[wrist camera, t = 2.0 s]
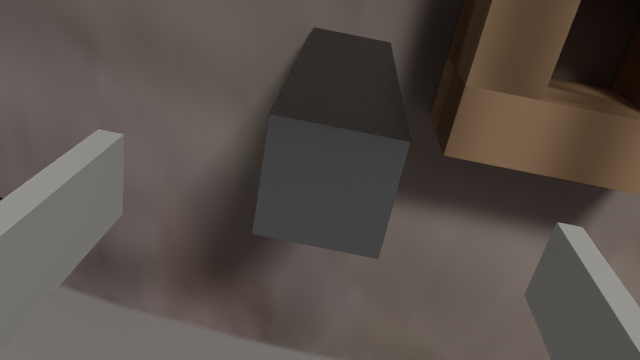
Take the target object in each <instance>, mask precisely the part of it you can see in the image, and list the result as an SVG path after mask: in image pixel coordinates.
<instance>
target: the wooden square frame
mask: <svg viewBox="0 0 640 360" xmlns="http://www.w3.org/2000/svg"><path fill="white" fill-rule="evenodd" d="M580 2H581V0H464V1H463V5H462V8H461V12H460V15H459V19H458V22H457V25H456V29H455V32H454V36H453V39H452V43H451V46H450V49H449V53H448V56H447V60H446V63H445V67H444V70H443V74H442V77H441V80H440V84H439V87H438V91H437V94H436V98H435V101H434V104H433V108H432V111H431V115H430V116H431V119H432V122H433V125H434V128H435V131H436V134H437V137H438V140H439V143H440V146H441V149H442V152H443V155H444V156H448V157H453V158H458V159H463V160H468V161H473V162H478V163H483V164H488V165H493V166H499V167H504V168H509V169H514V170H519V171H524V172H529V173H534V174H539V175H544V176H549V177H554V178H559V179H564V180H569V181H574V182H579V183H584V184H589V185H594V186H599V187H604V188H609V189H614V190H619V191H624V192H629V193H634V194H639V195H640V23H639V25H638V28H637V30H636V32H635V34H634V37H633V39H632V41H631V43H630V46H629V48H628V50H627V52H626V55H625V57H624V59H623V61H622V64H621V66H620V68H619V70H618V73H617V75H616V77H615V79H614V82H613V84H612V86H611V88H605V87H600V86H595V85H590V84H585V83H580V82H575V81H570V80H565V79H560V78H555V77H551V76H552V74H553V71H554V69H555V66H556V63H557V61H558V58H559V56H560V53H561V50H562V48H563V45H564V43H565V40H566V38H567V35H568V32H569V30H570V27H571V25H572V22H573V20H574V17H575V14H576V12H577V9H578V7H579V4H580Z"/></svg>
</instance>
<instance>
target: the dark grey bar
mask: <svg viewBox="0 0 640 360" xmlns="http://www.w3.org/2000/svg"><path fill="white" fill-rule="evenodd" d="M410 143H411V141H410V136H409V131H408V126H407V121H406V116H405V111H404V106H403V101H402V96H401V91H400V86H399V82H398V77H397V72H396V67H395V62H394V57H393V52H392V47H391V43H389V42H384V41H379V40H374V39H369V38H364V37H359V36H354V35H349V34H344V33H339V32H334V31H329V30H324V29H320V28H315V27H314V28H313V30H312V32H311V34H310V36H309V38H308V40H307V42H306V44H305V46H304V48H303V50H302V52H301V54H300V55H299V57H298V59H297V61H296V63H295V65H294V67H293V69H292V71H291V73H290V75H289V77H288V79H287V81H286V83H285V85H284V87H283V88H282V90H281V92H280V94H279V96H278V98H277V100H276V102H275V104H274V106H273V108H272V110H271V112H270V114H269V120H268V127H267V134H266V141H265V148H264V155H263V162H262V169H261V176H260V183H259V190H258V197H257V204H256V211H255V218H254V225H253V232H252V234H255V235H260V236H265V237H270V238H275V239H280V240H285V241H290V242H295V243H300V244H305V245H310V246H315V247H321V248H326V249H331V250H336V251H341V252H346V253H351V254H356V255H361V256H366V257H371V258H376V259H378V257H379V254H380V250H381V247H382V243H383V240H384V236H385V232H386V229H387V225H388V222H389V218H390V215H391V211H392V207H393V204H394V200H395V197H396V193H397V190H398V186H399V182H400V179H401V175H402V172H403V168H404V164H405V161H406V157H407V154H408V150H409V147H410Z"/></svg>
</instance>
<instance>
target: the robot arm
mask: <svg viewBox="0 0 640 360" xmlns="http://www.w3.org/2000/svg"><path fill="white" fill-rule="evenodd" d="M123 152H124V134H119V133H114V132H109V131H104V130H100V129H98V130H97V131H95V132H94V133H93V134H91V135H90V136H89V137H87V138H86V139H85V140H83V141H82V142H80V143H79V144H78V145H76V146H75V147H74V148H72V149H71V150H69V151H68V152H67V153H65V154H64V155H63V156H61V157H60V158H58V159H57V160H56V161H54V162H53V163H52V164H50V165H49V166H48V167H46V168H45V169H43V170H42V171H41V172H39V173H38V174H37V175H35V176H34V177H32V178H31V179H30V180H28V181H27V182H26V183H24V184H23V185H22V186H20V187H19V188H17V189H16V190H15V191H13V192H12V193H11V194H9V195H8V196H6V197H5V198H1V197H0V353H1V352H2V350H3V349H4V348H5V347H6V346H7V345H8V343H10V341H11V340H12V339H13V338H14V337H15V336H16V334H17V333H18V332H19V331H20V330H21V329H22V328H23V327H24V325H25V324H26V323H27V322H28V321H29V320H30V318H31V317H32V316H33V315H34V314H35V313H36V312H37V311H38V309H39V308H40V307H41V306H42V305H43V304H44V303H45V301H46V300H47V299H48V298H49V297H50V296H51V295H52V293H53V292H54V291H55V290H56V289H57V288H58V287H59V286H60V284H61V283H62V282H63V281H64V280H65V279H66V278H67V276H68V275H69V274H70V273H71V272H72V271H73V270H74V268H75V267H76V266H77V265H78V264H79V263H80V262H81V260H82V259H83V258H84V257H85V256H86V255H87V254H88V252H89V251H90V250H91V249H92V248H93V247H94V246H95V244H96V243H97V242H98V241H99V240H100V239H101V238H102V236H103V235H104V234H105V233H106V232H107V231H108V230H109V229H110V227H111V226H112V225H113V224H114V223H115V222H116V221H117V219H118V218H119V217H120V216H121V215H122V214H123ZM525 297H526V300H527V302H528V305H529V307H530V309H531V312H532V314H533V317H534V319H535V321H536V324H537V326H538V328H539V331H540V333H541V336H542V338H543V340H544V343H545V345H546V348H547V350H548V352H549V355H550V357H551V360H640V308H639V307H638V305H637V304H636V302H635V301H634V300H633V298H632V297H631V295H630V294H629V292H628V291H627V290H626V288H625V287H624V285H623V284H622V283H621V281H620V280H619V278H618V277H617V276H616V274H615V273H614V271H613V270H612V268H611V267H610V266H609V264H608V263H607V261H606V260H605V259H604V257H603V256H602V254H601V253H600V252H599V250H598V249H597V247H596V246H595V244H594V243H593V242H592V240H591V239H590V237H589V236H588V235H587V233H586V232H585V230H584V229H583V228H582V227H579V226H574V225H569V224H564V223H559V222H557V223H556V225H555V228H554V230H553V232H552V234H551V237H550V239H549V241H548V243H547V246H546V248H545V250H544V252H543V254H542V257H541V259H540V261H539V263H538V266H537V268H536V270H535V272H534V275H533V277H532V279H531V281H530V284H529V286H528V288H527V290H526V293H525Z"/></svg>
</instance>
